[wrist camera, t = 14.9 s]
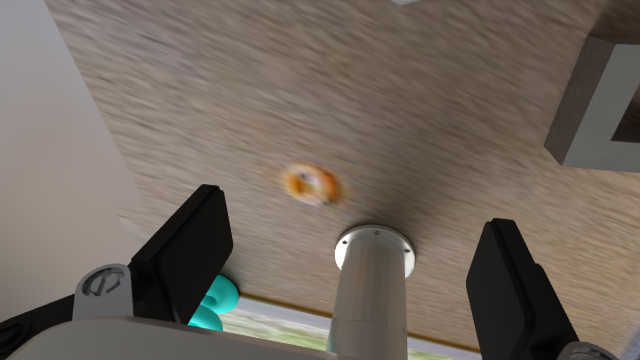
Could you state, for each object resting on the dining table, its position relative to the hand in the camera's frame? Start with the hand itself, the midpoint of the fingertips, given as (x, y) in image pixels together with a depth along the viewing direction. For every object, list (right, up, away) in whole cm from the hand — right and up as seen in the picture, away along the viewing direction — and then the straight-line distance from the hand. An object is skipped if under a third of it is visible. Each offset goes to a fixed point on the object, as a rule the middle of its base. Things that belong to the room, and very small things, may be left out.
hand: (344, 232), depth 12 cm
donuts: (-22, -20, +54) cm, 61 cm away
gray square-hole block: (+31, +10, +22) cm, 40 cm away
